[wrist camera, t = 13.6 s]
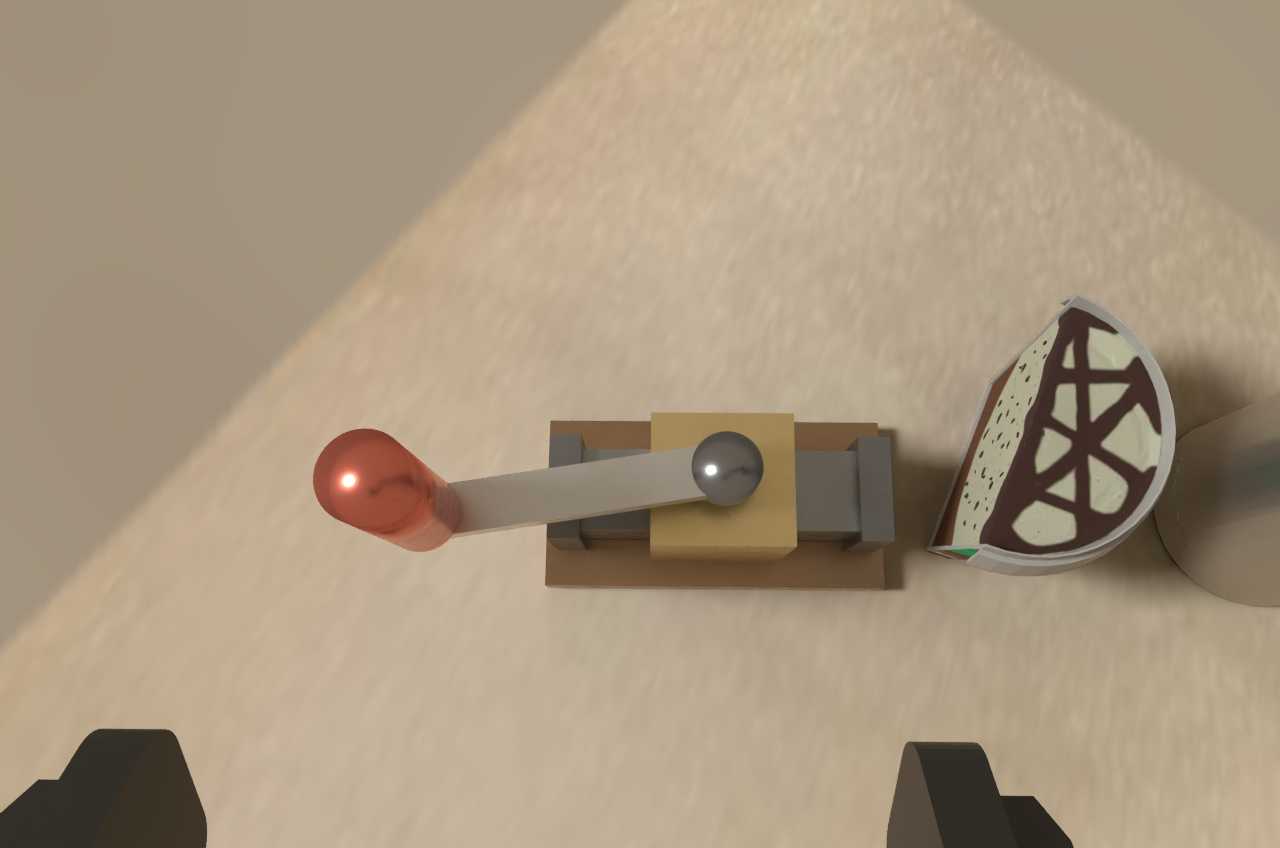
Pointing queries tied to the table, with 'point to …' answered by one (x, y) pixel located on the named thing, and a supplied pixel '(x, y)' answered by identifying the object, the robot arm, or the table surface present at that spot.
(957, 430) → the table surface
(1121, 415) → the food container
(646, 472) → the lever
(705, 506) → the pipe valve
